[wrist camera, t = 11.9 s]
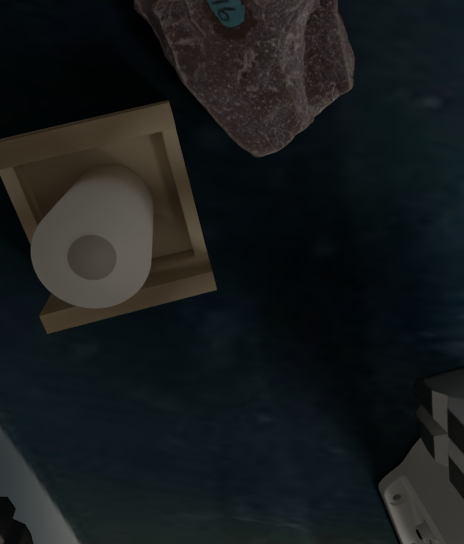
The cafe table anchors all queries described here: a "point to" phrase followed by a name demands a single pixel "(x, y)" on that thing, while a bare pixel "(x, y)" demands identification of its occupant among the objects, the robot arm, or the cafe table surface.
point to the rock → (256, 62)
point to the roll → (97, 239)
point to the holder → (135, 156)
